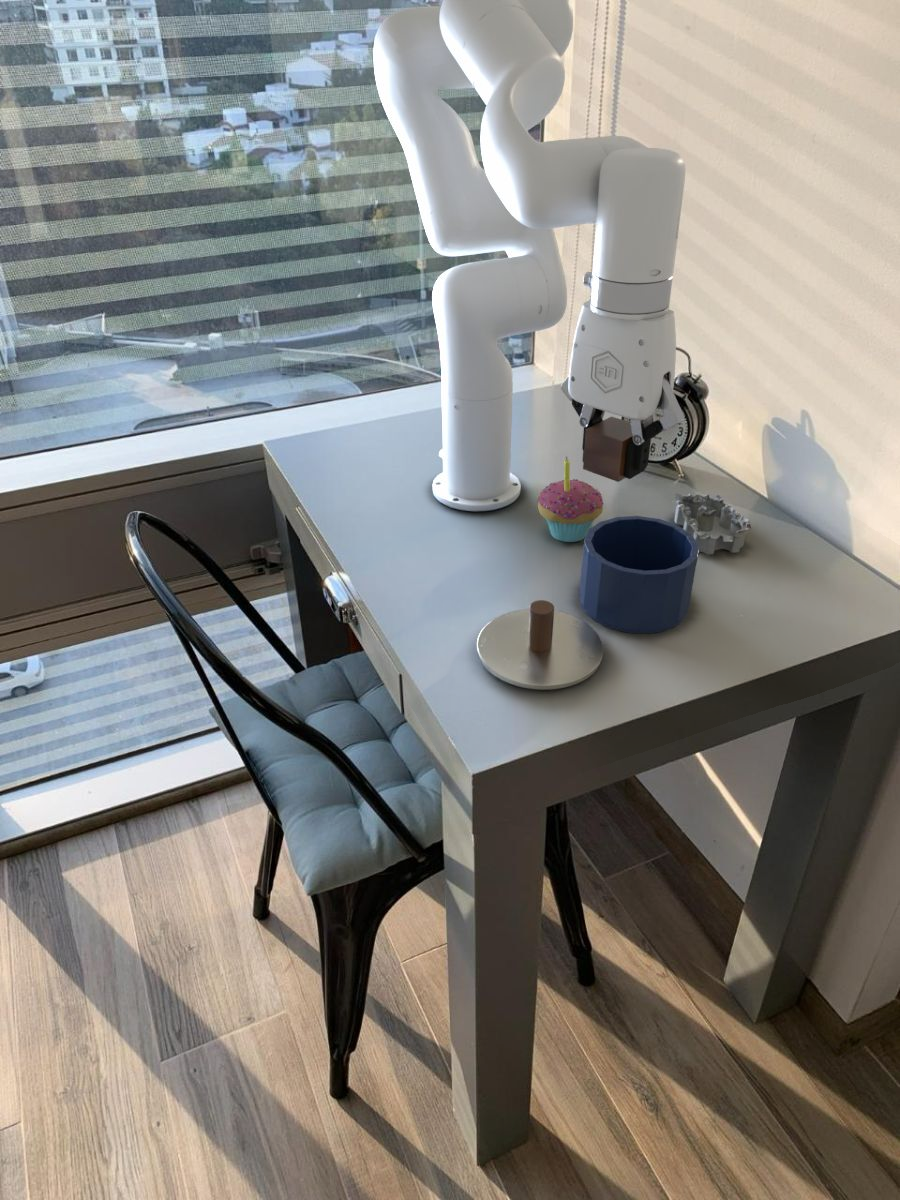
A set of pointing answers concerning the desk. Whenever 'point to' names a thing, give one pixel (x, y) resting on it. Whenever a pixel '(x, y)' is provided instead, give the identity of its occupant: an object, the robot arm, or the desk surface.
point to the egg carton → (711, 522)
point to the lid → (540, 648)
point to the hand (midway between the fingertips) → (613, 465)
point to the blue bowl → (637, 574)
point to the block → (607, 448)
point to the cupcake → (570, 507)
